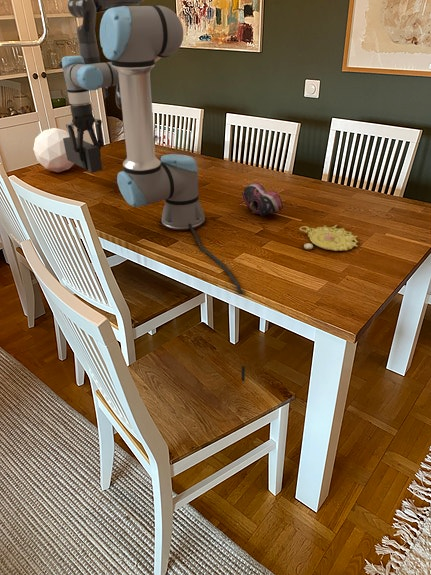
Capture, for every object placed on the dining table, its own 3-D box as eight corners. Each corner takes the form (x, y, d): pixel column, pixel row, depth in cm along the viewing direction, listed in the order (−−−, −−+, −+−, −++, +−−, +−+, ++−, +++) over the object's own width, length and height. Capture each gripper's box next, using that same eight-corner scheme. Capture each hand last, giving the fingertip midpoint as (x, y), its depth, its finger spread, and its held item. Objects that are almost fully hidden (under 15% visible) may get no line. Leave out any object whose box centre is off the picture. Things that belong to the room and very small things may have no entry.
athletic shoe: (254, 181, 170) (227, 189, 167) (283, 176, 151) (253, 185, 147) (260, 210, 173) (234, 218, 170) (290, 209, 154) (261, 219, 150)
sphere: (65, 187, 210) (49, 161, 191) (35, 167, 214) (16, 139, 196) (92, 159, 215) (78, 132, 196) (62, 140, 219) (46, 111, 200)
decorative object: (343, 255, 128) (285, 234, 139) (342, 262, 130) (284, 241, 140) (372, 230, 142) (317, 213, 152) (371, 237, 143) (316, 219, 153)
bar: (102, 170, 172) (98, 147, 167) (91, 172, 169) (87, 149, 164) (77, 157, 187) (73, 136, 182) (67, 159, 185) (62, 138, 180)
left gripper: (101, 53, 182) (108, 96, 191) (69, 56, 175) (77, 100, 184) (110, 54, 177) (116, 98, 186) (76, 58, 170) (84, 102, 179)
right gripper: (98, 99, 168) (107, 160, 180) (52, 106, 158) (66, 170, 171) (107, 101, 163) (116, 164, 175) (61, 108, 153) (74, 174, 166)
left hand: (96, 99), depth 185 cm, fingers open, 8 cm apart
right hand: (91, 167), depth 173 cm, fingers closed on bar, 5 cm apart
